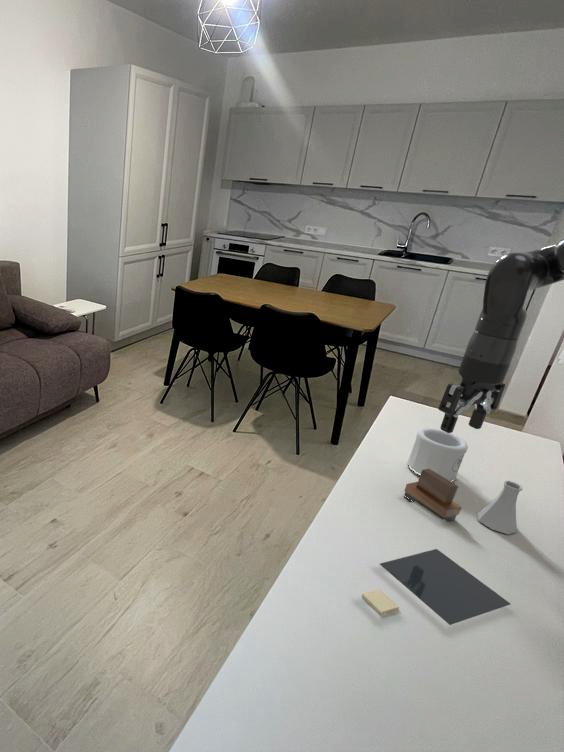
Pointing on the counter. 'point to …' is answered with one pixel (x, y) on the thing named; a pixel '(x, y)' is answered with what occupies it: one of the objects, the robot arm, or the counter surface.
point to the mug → (437, 452)
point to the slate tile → (444, 586)
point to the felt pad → (380, 601)
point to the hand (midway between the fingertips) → (460, 429)
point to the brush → (434, 494)
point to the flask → (502, 510)
